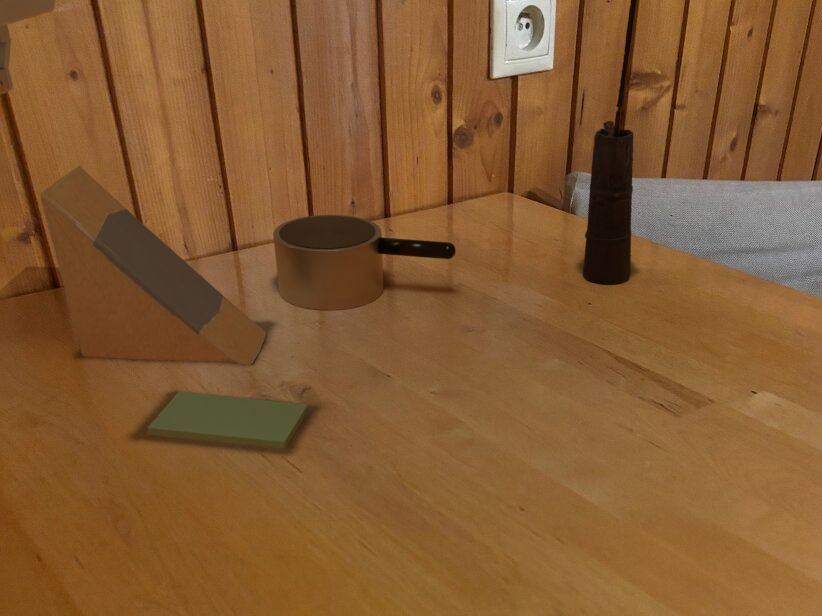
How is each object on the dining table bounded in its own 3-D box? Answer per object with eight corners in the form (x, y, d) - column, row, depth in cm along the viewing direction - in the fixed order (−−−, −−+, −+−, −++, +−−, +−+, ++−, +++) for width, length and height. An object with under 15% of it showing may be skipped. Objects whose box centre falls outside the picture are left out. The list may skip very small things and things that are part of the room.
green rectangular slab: (139, 446, 74) (135, 430, 73) (174, 405, 79) (171, 389, 78) (285, 462, 73) (283, 445, 72) (311, 419, 78) (309, 402, 77)
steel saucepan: (265, 305, 96) (258, 245, 92) (297, 267, 104) (292, 210, 100) (445, 320, 94) (445, 259, 90) (463, 280, 102) (464, 223, 98)
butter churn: (563, 254, 108) (589, -37, 91) (646, 261, 107) (689, -33, 89) (554, 283, 101) (580, -26, 84) (643, 291, 100) (688, -21, 82)
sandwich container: (249, 372, 84) (226, 198, 75) (82, 366, 85) (37, 192, 75) (269, 332, 91) (250, 168, 81) (114, 326, 91) (77, 163, 82)
